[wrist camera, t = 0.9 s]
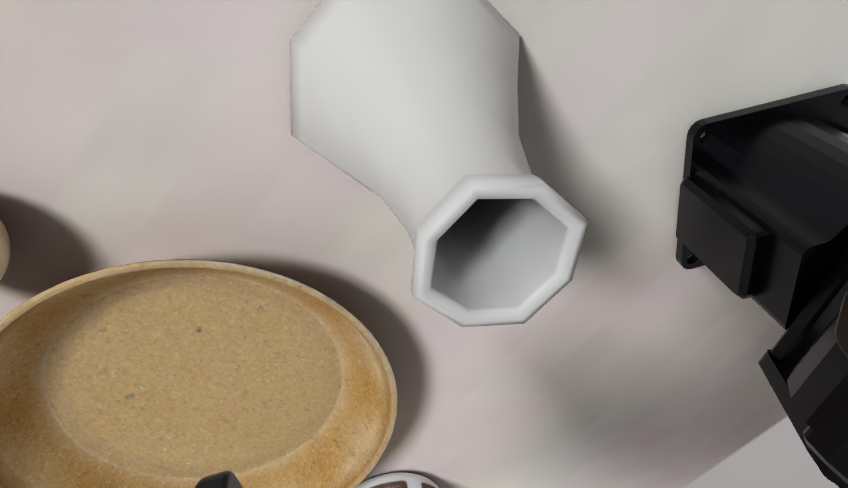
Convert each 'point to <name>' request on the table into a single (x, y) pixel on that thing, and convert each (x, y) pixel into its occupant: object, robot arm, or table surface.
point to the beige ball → (4, 250)
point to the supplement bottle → (398, 481)
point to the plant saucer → (190, 382)
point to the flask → (437, 147)
